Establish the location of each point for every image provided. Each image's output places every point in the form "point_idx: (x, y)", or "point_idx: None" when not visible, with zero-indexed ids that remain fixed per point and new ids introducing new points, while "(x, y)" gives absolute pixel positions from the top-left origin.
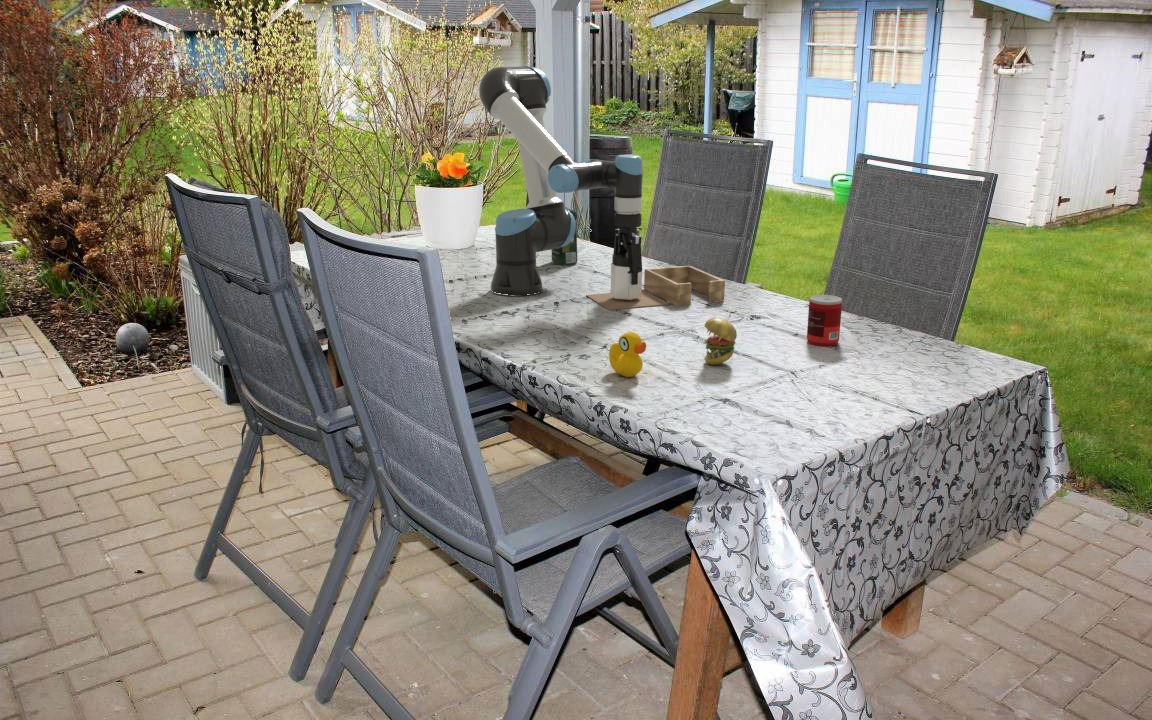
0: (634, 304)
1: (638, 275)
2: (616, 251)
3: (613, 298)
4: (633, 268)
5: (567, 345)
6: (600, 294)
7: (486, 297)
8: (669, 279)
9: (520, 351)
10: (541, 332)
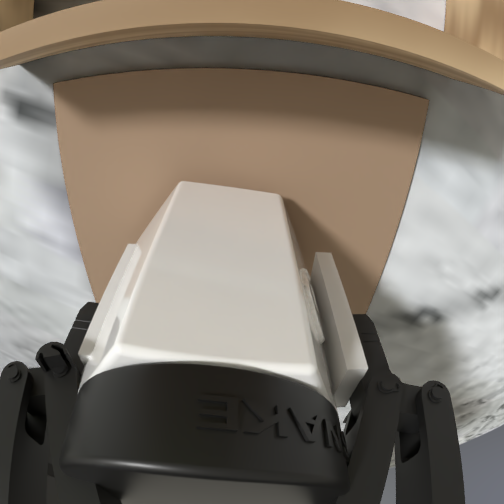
0: (345, 257)
1: (313, 322)
2: (42, 474)
3: None
4: (411, 436)
5: (465, 419)
6: None
7: None
8: (389, 17)
9: None
10: None
